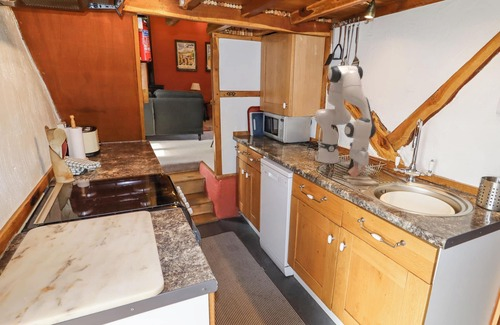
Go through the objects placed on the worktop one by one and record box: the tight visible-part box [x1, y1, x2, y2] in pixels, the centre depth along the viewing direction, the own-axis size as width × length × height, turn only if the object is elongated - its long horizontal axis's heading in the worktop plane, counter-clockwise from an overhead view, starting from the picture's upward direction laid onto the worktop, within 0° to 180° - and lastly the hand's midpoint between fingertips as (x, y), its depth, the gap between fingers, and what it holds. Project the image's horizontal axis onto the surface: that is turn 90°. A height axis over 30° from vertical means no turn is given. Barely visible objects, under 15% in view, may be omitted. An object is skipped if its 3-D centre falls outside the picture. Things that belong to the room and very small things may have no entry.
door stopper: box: [347, 158, 354, 172], centre depth 187 cm, size 9×6×12 cm, turn 128°
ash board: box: [342, 174, 379, 187], centre depth 169 cm, size 15×16×1 cm
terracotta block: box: [347, 163, 367, 178], centre depth 167 cm, size 4×4×9 cm
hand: (357, 168), depth 167 cm, fingers closed on terracotta block, 4 cm apart
